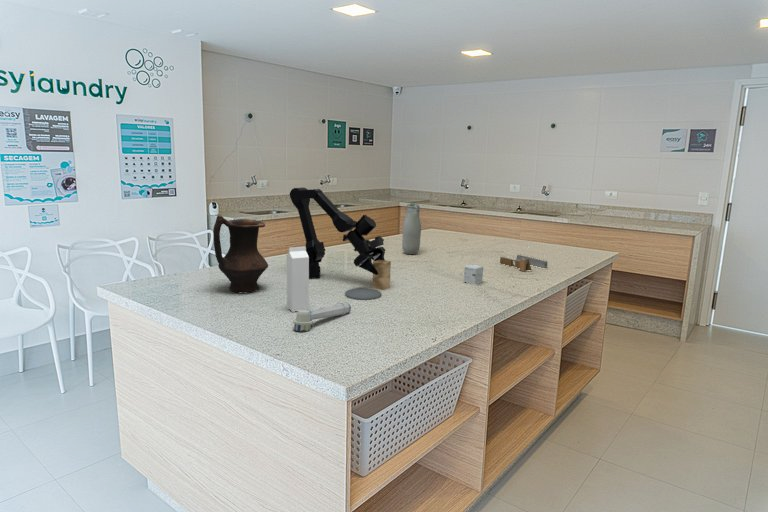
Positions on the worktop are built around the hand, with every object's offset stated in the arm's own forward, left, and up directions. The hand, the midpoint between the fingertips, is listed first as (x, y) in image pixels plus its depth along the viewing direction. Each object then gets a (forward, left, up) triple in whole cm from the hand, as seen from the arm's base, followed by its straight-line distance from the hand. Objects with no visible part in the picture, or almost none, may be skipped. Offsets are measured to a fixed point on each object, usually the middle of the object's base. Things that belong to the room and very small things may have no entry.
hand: (382, 272), depth 208 cm
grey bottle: (+37, +66, -7) cm, 76 cm away
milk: (-37, -22, -7) cm, 44 cm away
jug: (-55, +7, -7) cm, 56 cm away
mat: (-10, -9, -7) cm, 15 cm away
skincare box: (+42, +1, -7) cm, 42 cm away
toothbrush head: (-31, -37, -7) cm, 49 cm away
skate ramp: (+78, +26, -7) cm, 82 cm away
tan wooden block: (0, 0, -7) cm, 7 cm away
